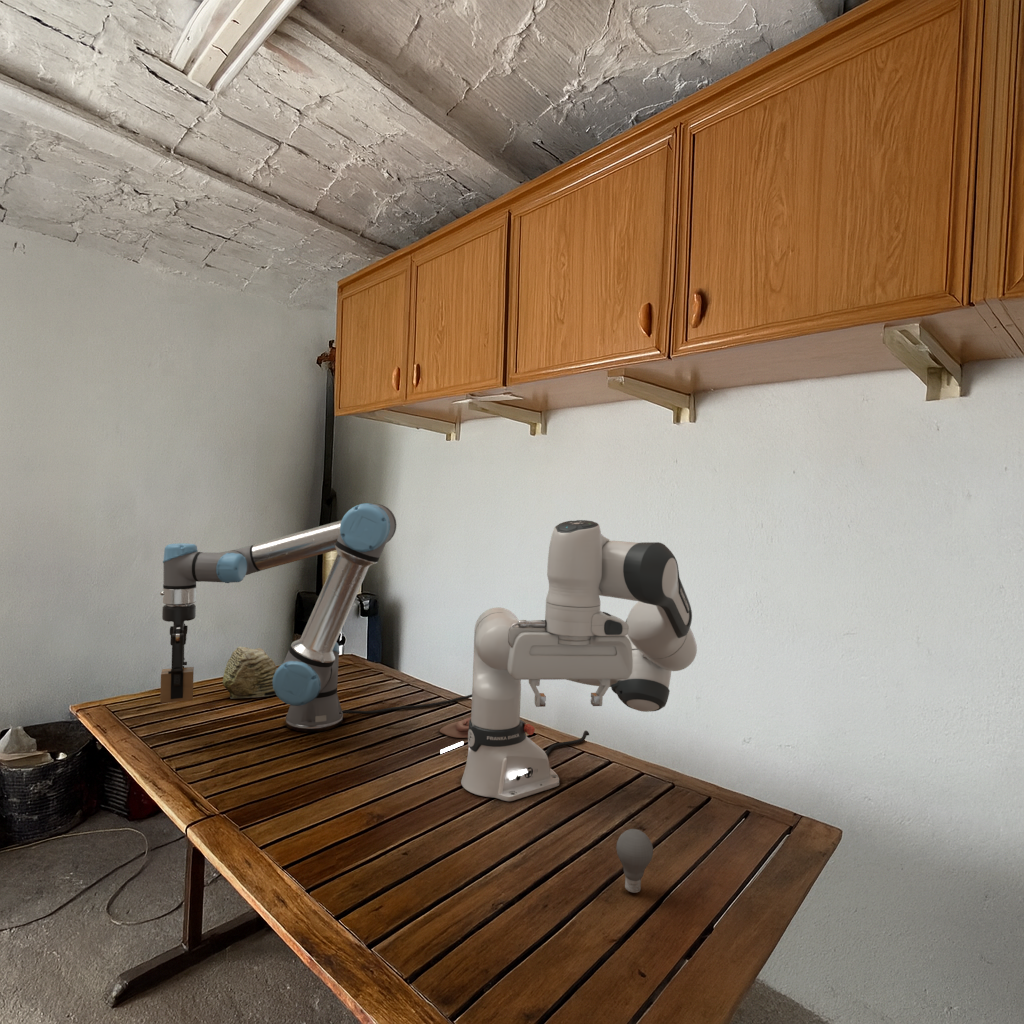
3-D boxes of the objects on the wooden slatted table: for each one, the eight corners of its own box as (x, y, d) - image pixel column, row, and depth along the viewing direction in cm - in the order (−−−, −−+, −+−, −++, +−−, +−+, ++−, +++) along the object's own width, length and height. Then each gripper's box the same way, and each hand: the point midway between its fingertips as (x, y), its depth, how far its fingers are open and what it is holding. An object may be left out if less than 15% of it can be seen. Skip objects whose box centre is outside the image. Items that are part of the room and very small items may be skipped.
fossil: (218, 695, 195) (220, 647, 195) (278, 685, 208) (279, 640, 207) (228, 703, 189) (230, 653, 188) (289, 692, 201) (290, 645, 201)
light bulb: (610, 879, 108) (613, 822, 108) (644, 879, 109) (647, 822, 109) (619, 902, 102) (622, 840, 102) (655, 901, 103) (658, 840, 103)
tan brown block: (161, 697, 163) (162, 669, 163) (193, 694, 166) (193, 666, 166) (160, 703, 158) (160, 674, 158) (192, 700, 161) (193, 671, 161)
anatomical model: (436, 720, 170) (448, 707, 182) (435, 735, 170) (448, 721, 182) (483, 726, 168) (493, 712, 179) (483, 741, 168) (493, 726, 179)
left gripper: (164, 599, 168) (162, 686, 168) (160, 610, 152) (157, 707, 152) (196, 598, 171) (194, 683, 172) (195, 609, 155) (192, 703, 155)
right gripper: (512, 623, 98) (508, 712, 98) (638, 625, 101) (634, 711, 101) (505, 616, 104) (502, 699, 104) (624, 617, 107) (621, 698, 108)
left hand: (177, 694), depth 162 cm, fingers closed on tan brown block, 5 cm apart
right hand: (568, 705), depth 103 cm, fingers open, 8 cm apart
